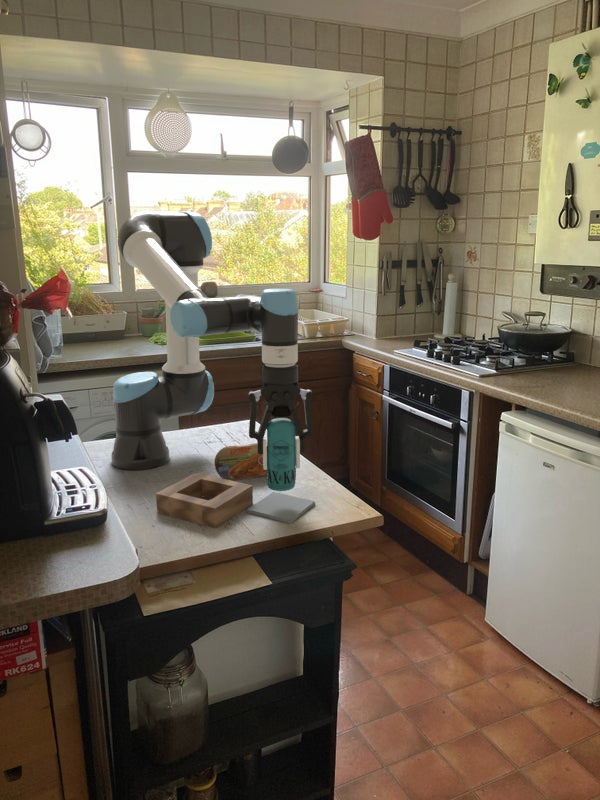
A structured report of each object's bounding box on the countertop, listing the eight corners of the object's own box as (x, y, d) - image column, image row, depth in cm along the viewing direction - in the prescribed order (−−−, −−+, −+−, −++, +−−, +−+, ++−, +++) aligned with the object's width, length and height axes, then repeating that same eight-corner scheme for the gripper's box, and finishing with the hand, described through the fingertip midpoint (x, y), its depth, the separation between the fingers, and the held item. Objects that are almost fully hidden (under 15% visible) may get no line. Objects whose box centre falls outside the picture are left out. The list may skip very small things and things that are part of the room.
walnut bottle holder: (157, 512, 140) (155, 493, 138) (196, 490, 151) (195, 472, 150) (216, 528, 132) (215, 508, 131) (252, 503, 144) (252, 485, 143)
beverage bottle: (263, 488, 142) (261, 402, 137) (291, 484, 144) (291, 400, 139) (271, 499, 136) (269, 410, 131) (300, 495, 138) (300, 407, 133)
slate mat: (247, 512, 139) (247, 509, 139) (273, 494, 149) (273, 491, 148) (290, 523, 134) (290, 520, 134) (314, 504, 143) (314, 501, 143)
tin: (215, 481, 157) (214, 449, 154) (214, 477, 159) (212, 445, 157) (275, 475, 160) (274, 444, 158) (272, 471, 163) (271, 440, 161)
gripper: (233, 368, 128) (237, 475, 134) (328, 366, 130) (327, 471, 136) (233, 361, 135) (236, 462, 141) (323, 359, 137) (322, 459, 143)
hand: (281, 466), depth 139 cm, fingers closed on beverage bottle, 6 cm apart
